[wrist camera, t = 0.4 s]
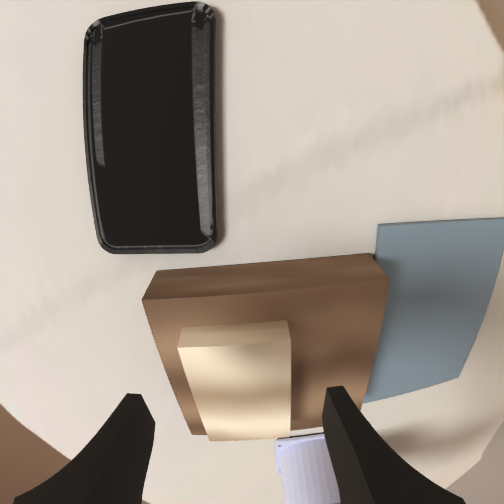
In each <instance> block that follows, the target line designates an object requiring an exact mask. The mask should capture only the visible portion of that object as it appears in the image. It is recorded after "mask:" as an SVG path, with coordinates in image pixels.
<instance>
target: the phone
mask: <svg viewBox="0 0 504 504" xmlns="http://www.w3.org/2000/svg"><path fill="white" fill-rule="evenodd" d="M83 121H84V139H85V152H86V164H87V173H88V182H89V190H90V197H91V204H92V211H93V217H94V223H95V229H96V235H97V239H98V242H99V244H100V245H101V247H102V248H103V249H104V250H105V251H107V252H109V253H112V254H175V253H203V252H206V251H208V250H210V249H211V248H212V247H213V246H214V244H215V242H216V240H217V235H218V214H217V185H216V145H215V16H214V12H213V10H212V9H211V7H210V6H208V5H207V4H205V3H202V2H194V1H193V2H183V3H175V4H168V5H161V6H155V7H149V8H143V9H138V10H133V11H128V12H124V13H119V14H115V15H111V16H107V17H103V18H101V19H98V20H97V21H95V22H94V23H92V25H91V26H90V27H89V28H88V30H87V32H86V34H85V39H84V55H83Z"/></svg>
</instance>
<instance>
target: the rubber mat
mask: <svg viewBox="0 0 504 504" xmlns="http://www.w3.org/2000/svg"><path fill="white" fill-rule="evenodd" d="M503 251H504V217H503V218H480V219H459V220H440V221H422V222H405V223H389V224H378V228H377V241H376V252H375V261H376V263H377V264H378V265H379V266H380V267H381V269H382V270H383V271H384V272H385V274H386V275H387V276H388V277H389V279H390V280H389V287H388V293H387V299H386V305H385V310H384V316H383V321H382V326H381V331H380V336H379V341H378V345H377V350H376V354H375V358H374V362H373V366H372V370H371V374H370V378H369V382H368V386H367V389H366V393H365V397H364V400H363V403H367V402H372V401H376V400H381V399H385V398H389V397H394V396H398V395H401V394H405V393H409V392H413V391H416V390H420V389H423V388H427V387H430V386H433V385H436V384H440V383H443V382H446V381H449V380H452V379H455V378H458V377H459V375H460V373H461V371H462V369H463V366H464V364H465V362H466V360H467V358H468V355H469V353H470V351H471V349H472V346H473V344H474V341H475V339H476V336H477V334H478V331H479V329H480V326H481V324H482V321H483V318H484V315H485V313H486V310H487V307H488V304H489V301H490V298H491V295H492V291H493V288H494V285H495V281H496V278H497V274H498V271H499V267H500V263H501V259H502V255H503Z"/></svg>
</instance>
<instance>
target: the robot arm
mask: <svg viewBox="0 0 504 504" xmlns="http://www.w3.org/2000/svg"><path fill="white" fill-rule="evenodd" d="M322 423H323V430H324V434H318V435H311V436H303V437H295V438H286V439H278V440H276V441H275V451H276V470H277V473H278V474H281V479H282V490H283V501H284V504H466V503H465V502H464V500H463V498H461V497H459V496H457V495H455V494H453V493H451V492H449V491H447V490H445V489H443V488H442V487H440V486H438V485H437V484H435V483H434V482H432V481H431V480H429V479H428V478H426V477H425V476H424V475H422V474H421V473H419V472H418V471H417V470H415V469H414V468H413V467H412V466H410V465H409V464H408V463H407V462H406V461H404V460H403V459H402V458H401V457H400V456H399V455H398V454H397V453H396V452H395V451H394V450H393V449H392V448H391V447H390V446H389V445H388V444H387V443H386V442H385V441H384V440H383V439H382V438H381V437H380V435H379V434H378V433H377V432H376V431H375V430H374V428H373V427H372V426H371V424H370V423H369V422H368V421H367V419H366V418H365V417H364V416H363V414H362V413H361V411H360V410H359V409H358V407H357V406H356V404H355V403H354V401H353V400H352V398H351V397H350V395H349V394H348V392H347V391H346V389H345V387H344V386H342V385H341V386H334V387H327V388H326V394H325V400H324V406H323V412H322ZM154 432H155V421H154V419H153V417H152V415H151V413H150V411H149V409H148V407H147V405H146V403H145V401H144V399H143V397H142V395H141V394H130V393H127V394H126V396H125V397H124V398H123V399H122V401H121V402H120V404H119V405H118V406H117V408H116V409H115V410H114V412H113V413H112V414H111V416H110V417H109V418H108V420H107V421H106V422H105V423H104V425H103V426H102V427H101V429H100V430H99V431H98V432H97V434H96V435H95V436H94V437H93V438H92V439H91V441H90V442H89V443H88V444H87V445H86V446H85V447H84V448H83V450H82V451H81V452H80V453H79V454H78V455H77V456H76V457H75V458H74V459H72V460H71V461H70V462H69V463H68V464H67V465H66V466H65V467H63V468H62V469H61V470H60V471H59V472H57V473H56V474H55V475H54V476H52V477H51V478H49V479H48V480H46V481H45V482H43V483H42V484H40V485H38V486H37V487H35V488H33V489H32V490H30V491H28V492H26V493H24V494H22V495H20V496H17V497H15V499H14V502H13V504H141V502H142V493H143V487H144V482H145V478H146V473H147V469H148V465H149V460H150V456H151V452H152V447H153V441H154Z"/></svg>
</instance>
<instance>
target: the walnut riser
mask: <svg viewBox="0 0 504 504" xmlns="http://www.w3.org/2000/svg"><path fill="white" fill-rule="evenodd" d="M389 280H390V279H389V277H388V276H387V275H386V274H385V272H384V271H383V270H382V269H381V267H380V266H379V265H378V264H377V263H376V261H375V260H374V259H373V258H372V256H371V255H370V254H369V253H365V254H354V255H343V256H332V257H321V258H310V259H298V260H287V261H275V262H263V263H251V264H239V265H226V266H214V267H201V268H188V269H175V270H162V271H156V273H155V275H154V277H153V279H152V280H151V282H150V284H149V286H148V288H147V290H146V292H145V294H144V296H143V298H142V303H143V306H144V309H145V313H146V316H147V319H148V322H149V325H150V328H151V331H152V334H153V337H154V340H155V343H156V346H157V349H158V352H159V354H160V357H161V360H162V363H163V365H164V368H165V371H166V373H167V376H168V379H169V381H170V384H171V386H172V389H173V391H174V394H175V396H176V399H177V401H178V404H179V406H180V408H181V411H182V413H183V415H184V418H185V420H186V422H187V425H188V427H189V429H190V431H191V434H192V435H207V433H206V430H205V428H204V425H203V422H202V420H201V417H200V414H199V412H198V409H197V406H196V403H195V400H194V398H193V395H192V392H191V389H190V386H189V383H188V380H187V377H186V374H185V371H184V368H183V365H182V361H181V358H180V355H179V352H178V349H177V347H178V343H179V339H180V335H181V331H182V327H198V326H217V325H233V324H247V323H260V322H272V321H283V320H287V323H288V328H289V333H290V338H291V418H290V431H291V430H300V429H308V428H315V427H322V426H323V423H322V412H323V406H324V400H325V394H326V388H327V387H334V386H341V385H342V386H344V387H345V389H346V391H347V392H348V394H349V395H350V397H351V398H352V400H353V401H354V403H355V404H356V406H357V407H358V409H359V410H361V407H362V403H363V400H364V397H365V393H366V389H367V386H368V382H369V378H370V374H371V370H372V366H373V362H374V358H375V354H376V350H377V345H378V341H379V336H380V331H381V326H382V321H383V316H384V310H385V305H386V299H387V293H388V287H389Z"/></svg>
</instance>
